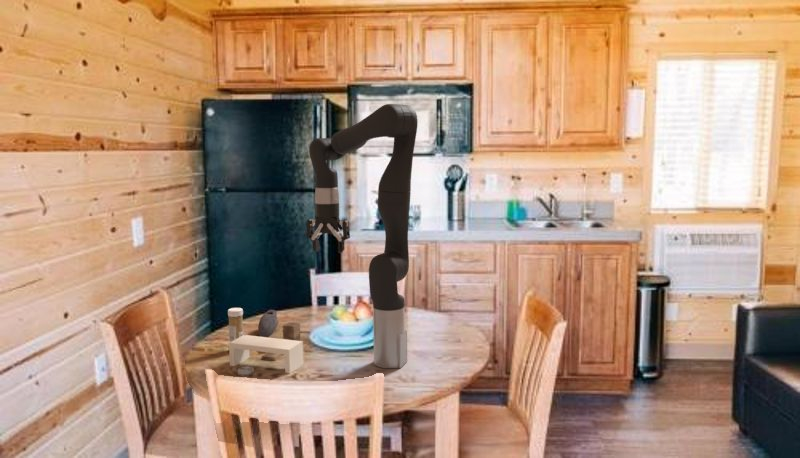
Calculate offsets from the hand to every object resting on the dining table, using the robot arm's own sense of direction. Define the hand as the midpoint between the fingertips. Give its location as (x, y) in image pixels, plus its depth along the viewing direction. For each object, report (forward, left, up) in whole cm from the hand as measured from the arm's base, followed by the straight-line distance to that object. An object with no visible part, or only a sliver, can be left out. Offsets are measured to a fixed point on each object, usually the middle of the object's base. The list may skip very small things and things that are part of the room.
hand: (328, 252), depth 201 cm
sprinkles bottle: (+25, +16, -30) cm, 42 cm away
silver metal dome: (+11, +32, -30) cm, 46 cm away
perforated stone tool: (+25, -2, -30) cm, 39 cm away
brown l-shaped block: (+11, +12, -30) cm, 34 cm away
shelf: (+9, +24, -30) cm, 40 cm away
